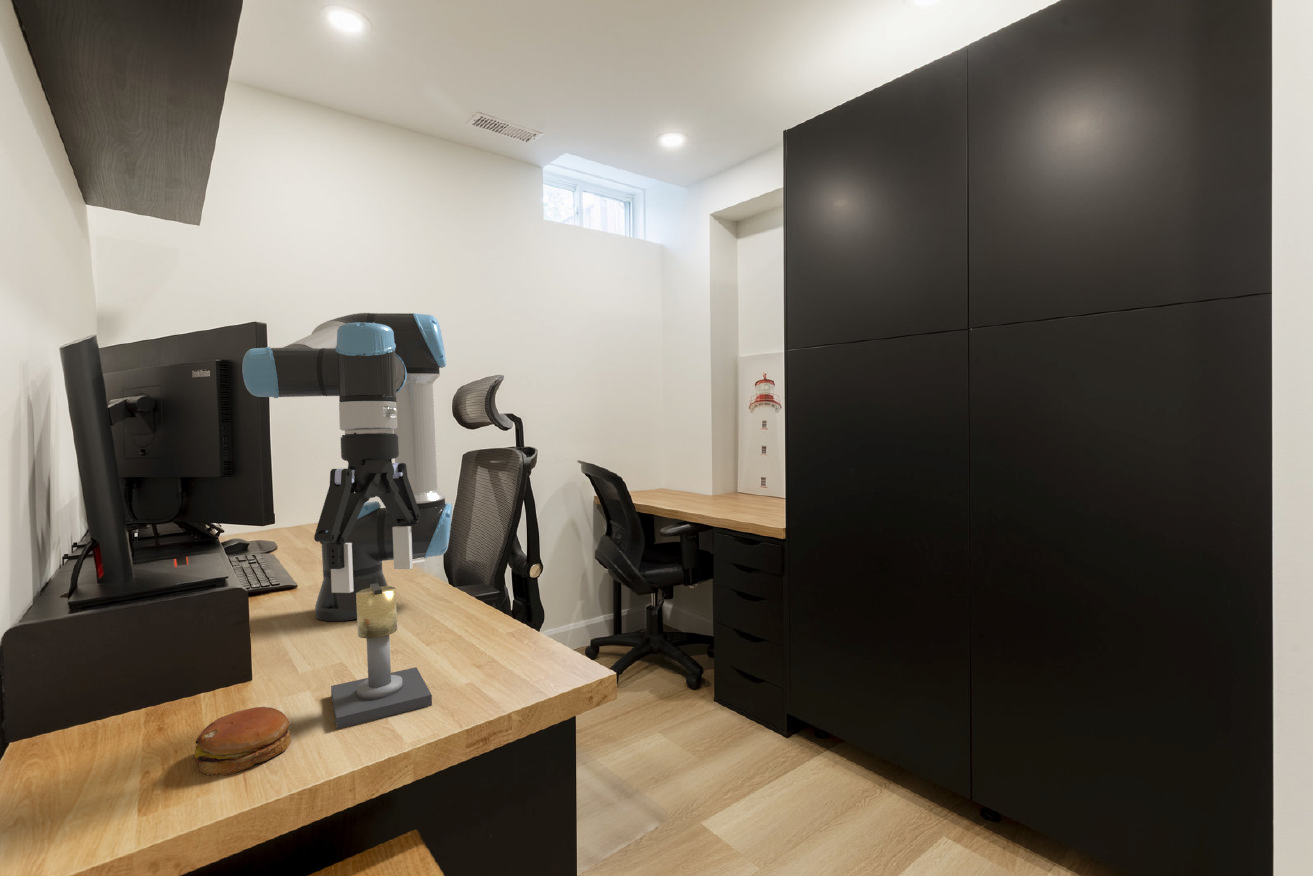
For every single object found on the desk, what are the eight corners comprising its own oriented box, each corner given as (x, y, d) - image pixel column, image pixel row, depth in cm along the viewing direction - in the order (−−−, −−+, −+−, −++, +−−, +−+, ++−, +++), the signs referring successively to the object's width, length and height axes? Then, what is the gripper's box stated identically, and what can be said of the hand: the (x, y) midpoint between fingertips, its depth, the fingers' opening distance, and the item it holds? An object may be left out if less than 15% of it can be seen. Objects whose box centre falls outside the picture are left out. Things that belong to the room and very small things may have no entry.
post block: (331, 696, 90) (328, 629, 90) (416, 676, 97) (414, 614, 96) (336, 729, 80) (333, 654, 80) (432, 705, 86) (429, 635, 86)
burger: (307, 738, 78) (305, 702, 78) (245, 781, 69) (243, 740, 69) (243, 733, 80) (241, 698, 80) (174, 774, 71) (171, 734, 71)
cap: (356, 631, 89) (354, 586, 89) (394, 623, 92) (392, 580, 92) (360, 641, 85) (358, 594, 84) (400, 633, 87) (398, 587, 87)
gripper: (330, 432, 74) (337, 604, 75) (440, 430, 99) (444, 560, 99) (277, 434, 76) (284, 603, 76) (398, 432, 100) (403, 560, 101)
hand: (375, 579), depth 88 cm, fingers open, 13 cm apart
